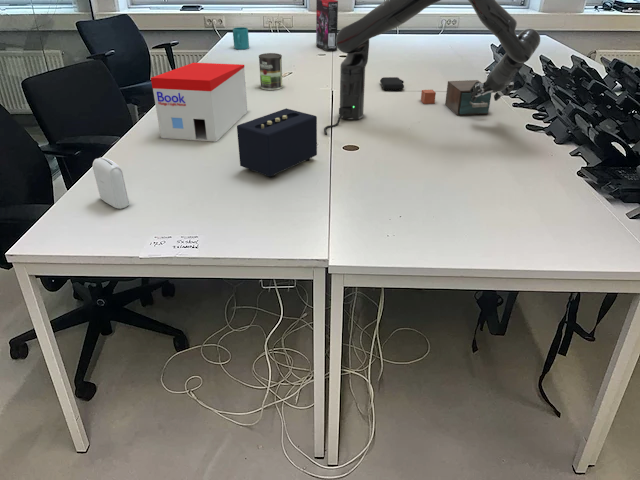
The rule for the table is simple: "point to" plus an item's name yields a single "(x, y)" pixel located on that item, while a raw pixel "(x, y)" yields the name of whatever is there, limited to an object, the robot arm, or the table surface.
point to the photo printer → (110, 182)
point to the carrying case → (392, 83)
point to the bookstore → (199, 100)
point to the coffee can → (270, 71)
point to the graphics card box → (326, 24)
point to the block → (428, 96)
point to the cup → (240, 38)
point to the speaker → (277, 141)
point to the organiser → (458, 94)
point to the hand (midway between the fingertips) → (484, 98)
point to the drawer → (474, 104)
